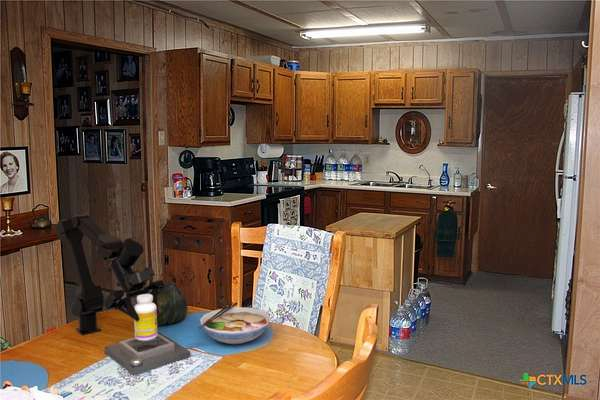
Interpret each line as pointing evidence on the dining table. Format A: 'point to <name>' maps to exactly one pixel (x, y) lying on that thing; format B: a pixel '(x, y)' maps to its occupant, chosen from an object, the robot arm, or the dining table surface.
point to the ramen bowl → (235, 324)
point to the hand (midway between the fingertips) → (148, 317)
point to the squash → (171, 305)
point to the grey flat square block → (146, 353)
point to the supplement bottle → (145, 318)
